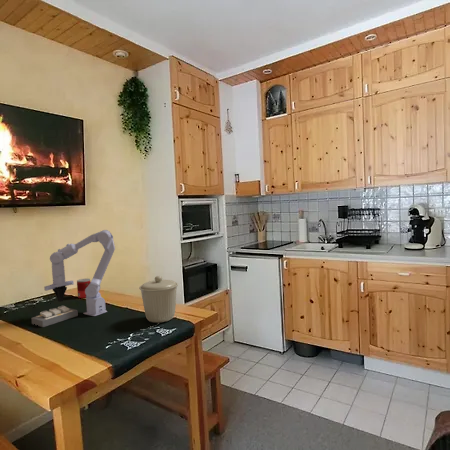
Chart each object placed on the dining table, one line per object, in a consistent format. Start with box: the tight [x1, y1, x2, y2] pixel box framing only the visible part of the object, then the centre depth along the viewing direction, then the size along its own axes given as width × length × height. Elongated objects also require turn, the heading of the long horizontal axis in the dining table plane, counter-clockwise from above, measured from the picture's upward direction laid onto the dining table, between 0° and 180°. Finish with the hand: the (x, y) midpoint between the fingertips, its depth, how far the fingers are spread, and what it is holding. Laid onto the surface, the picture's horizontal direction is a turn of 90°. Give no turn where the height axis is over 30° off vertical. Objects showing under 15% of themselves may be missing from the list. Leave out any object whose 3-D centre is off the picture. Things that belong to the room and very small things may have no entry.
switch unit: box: [31, 307, 79, 328], centre depth 167 cm, size 10×18×3 cm, turn 147°
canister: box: [139, 275, 179, 324], centre depth 160 cm, size 18×18×21 cm
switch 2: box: [48, 307, 61, 315], centre depth 167 cm, size 5×3×1 cm, turn 57°
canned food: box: [76, 278, 91, 300], centre depth 210 cm, size 8×8×11 cm
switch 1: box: [39, 310, 52, 317], centre depth 163 cm, size 5×3×1 cm, turn 57°
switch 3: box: [57, 305, 69, 312], centre depth 171 cm, size 5×3×1 cm, turn 57°
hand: (60, 301), depth 172 cm, fingers closed
